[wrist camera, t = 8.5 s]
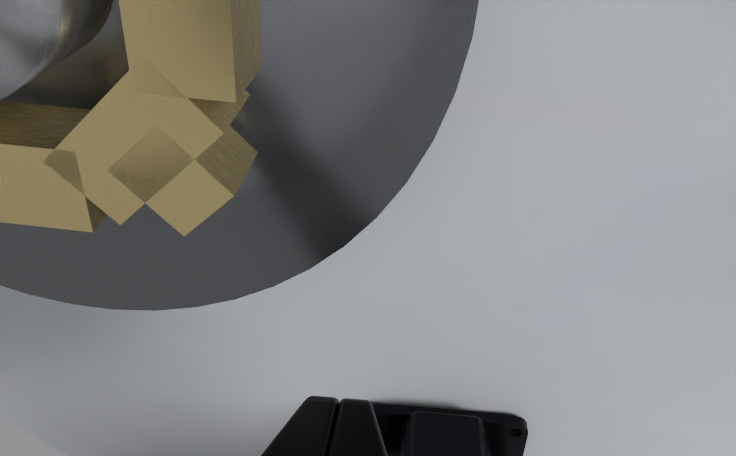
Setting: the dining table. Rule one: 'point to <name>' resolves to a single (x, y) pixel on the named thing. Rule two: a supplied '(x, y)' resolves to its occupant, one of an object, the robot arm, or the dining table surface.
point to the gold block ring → (141, 125)
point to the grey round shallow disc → (258, 128)
